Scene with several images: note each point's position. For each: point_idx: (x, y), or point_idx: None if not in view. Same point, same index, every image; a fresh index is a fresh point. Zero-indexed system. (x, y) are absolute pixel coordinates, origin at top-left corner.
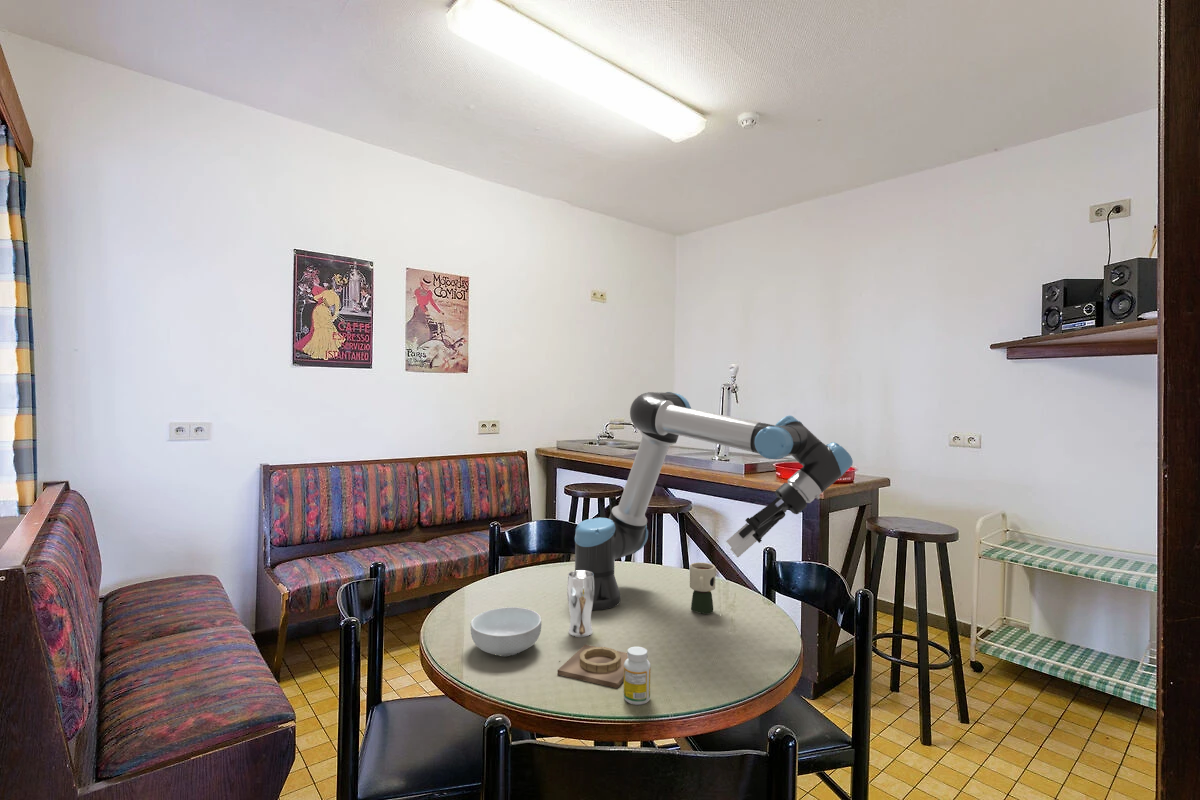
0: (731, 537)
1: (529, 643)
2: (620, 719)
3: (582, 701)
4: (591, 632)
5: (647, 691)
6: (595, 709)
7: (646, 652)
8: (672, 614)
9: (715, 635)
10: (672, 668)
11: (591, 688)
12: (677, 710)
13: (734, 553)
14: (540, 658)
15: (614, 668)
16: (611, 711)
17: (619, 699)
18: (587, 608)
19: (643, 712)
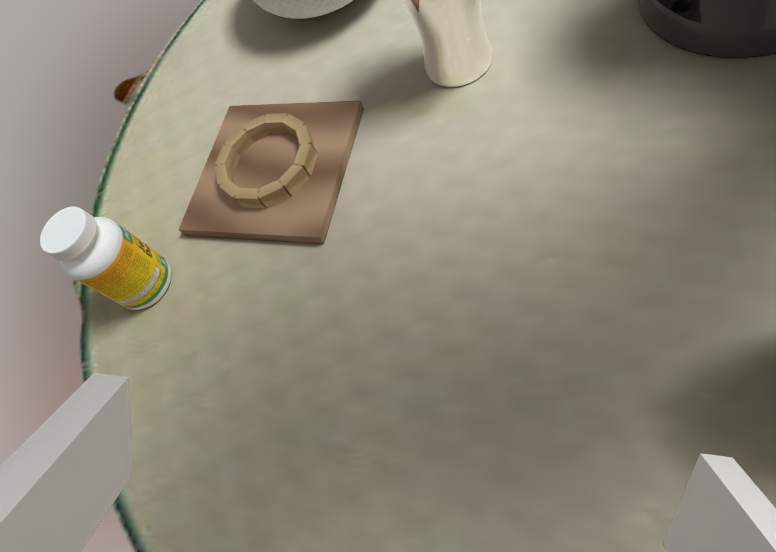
0: (55, 420)
1: (277, 12)
2: None
3: (139, 192)
4: (453, 83)
5: (109, 298)
6: None
7: (50, 252)
8: (746, 253)
9: (580, 451)
10: (288, 333)
11: (185, 189)
12: None
13: (679, 505)
14: (300, 56)
15: (236, 202)
16: None
17: None
18: (416, 18)
19: (98, 309)
